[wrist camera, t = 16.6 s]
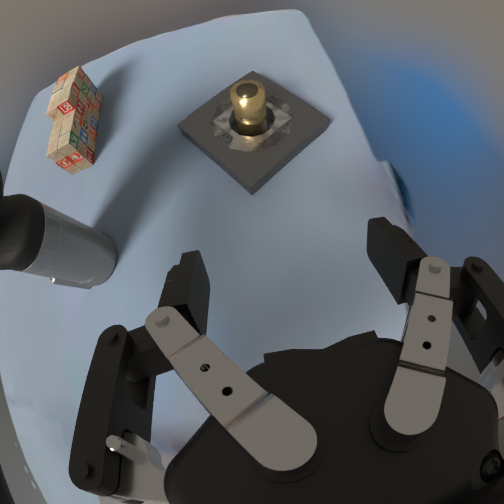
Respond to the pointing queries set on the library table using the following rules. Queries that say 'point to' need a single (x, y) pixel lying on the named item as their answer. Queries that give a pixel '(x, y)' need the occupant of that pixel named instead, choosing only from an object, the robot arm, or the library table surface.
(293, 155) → the plate
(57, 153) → the stack of blocks
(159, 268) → the library table surface
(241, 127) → the brass sleeve
